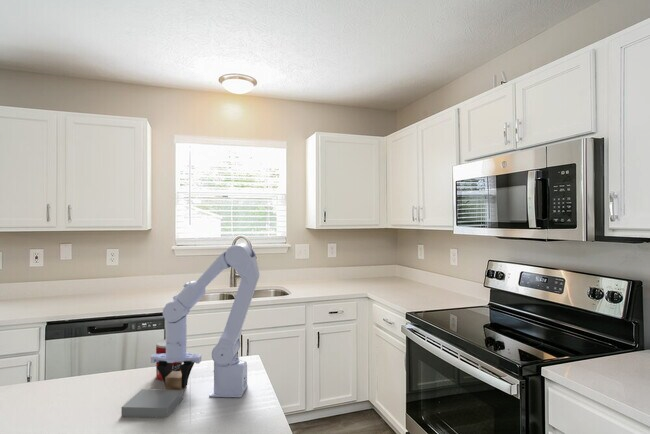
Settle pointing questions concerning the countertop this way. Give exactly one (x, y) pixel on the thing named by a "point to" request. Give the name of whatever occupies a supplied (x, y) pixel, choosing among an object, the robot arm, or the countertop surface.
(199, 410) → the countertop surface
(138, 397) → the slate base
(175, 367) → the canned food
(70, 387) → the countertop surface
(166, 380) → the light brown rectangular block
